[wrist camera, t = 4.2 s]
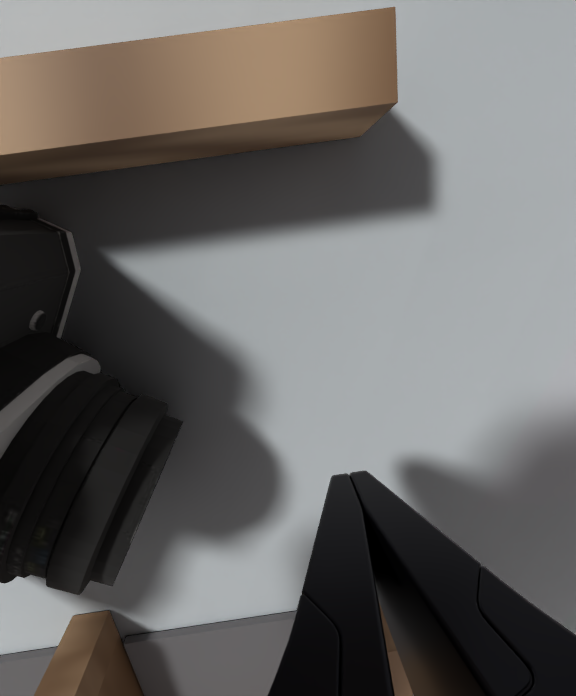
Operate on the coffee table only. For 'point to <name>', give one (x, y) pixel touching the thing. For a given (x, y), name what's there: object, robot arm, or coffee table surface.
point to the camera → (65, 425)
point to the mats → (182, 659)
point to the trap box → (184, 144)
